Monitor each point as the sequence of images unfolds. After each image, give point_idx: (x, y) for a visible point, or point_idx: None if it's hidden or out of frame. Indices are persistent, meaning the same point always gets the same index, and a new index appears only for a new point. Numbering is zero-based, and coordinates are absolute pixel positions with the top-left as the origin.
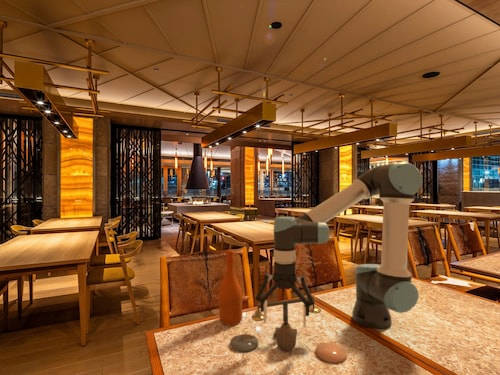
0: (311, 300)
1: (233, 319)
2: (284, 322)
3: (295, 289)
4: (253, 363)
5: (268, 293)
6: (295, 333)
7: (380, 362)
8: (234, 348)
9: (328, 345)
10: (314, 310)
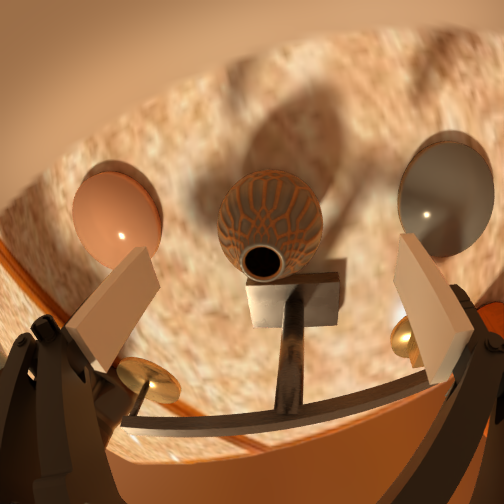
0: (12, 359)
1: (487, 319)
2: (274, 275)
3: (41, 480)
4: (385, 70)
5: (459, 450)
6: (251, 301)
7: (29, 222)
8: (476, 152)
9: (125, 255)
10: (135, 372)
